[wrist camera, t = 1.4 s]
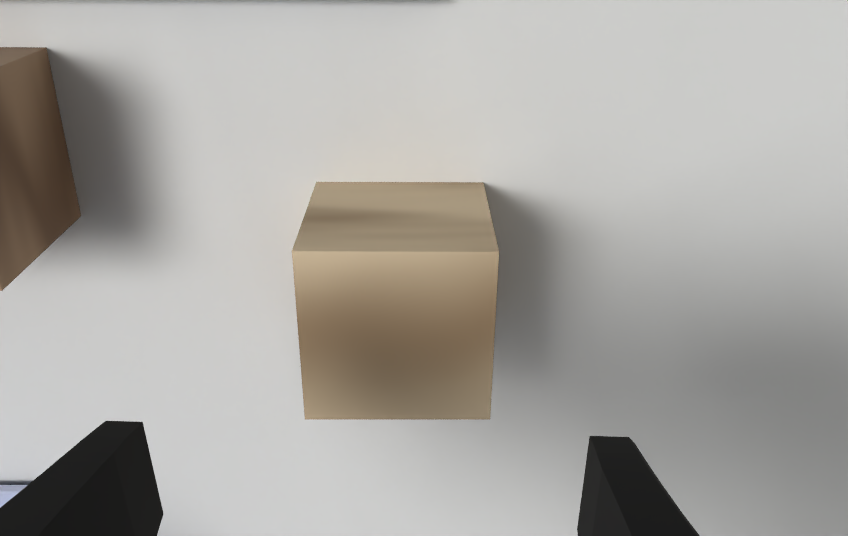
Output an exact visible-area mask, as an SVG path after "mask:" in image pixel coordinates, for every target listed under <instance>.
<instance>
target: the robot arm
mask: <svg viewBox="0 0 848 536" xmlns="http://www.w3.org/2000/svg"><path fill="white" fill-rule="evenodd" d="M162 516H163V510H162V506H161V501H160V497H159V493H158V488H157V484H156V479H155V475H154V471H153V466H152V462H151V457H150V453H149V449H148V444H147V440H146V435H145V431H144V427H143V422H124V421H105V422H104V423H103V424H101V425H100V426H99V427H97V428H96V429H95V430H94V431H92V432H91V433H90V434H89V435H88V436H86V437H85V438H84V439H83V440H81V441H80V442H79V443H78V444H77V445H75V446H74V447H73V448H72V449H71V450H70V451H68V452H67V453H66V454H65V455H64V456H62V457H61V458H60V459H59V460H58V461H56V462H55V463H54V464H53V465H52V466H50V467H49V468H48V469H47V470H46V471H45V472H43V473H42V474H41V475H40V476H38V477H37V478H36V479H35V480H34V481H32V482H31V483H30V484H29V485H0V536H157V533H158V530H159V526H160V523H161V520H162ZM577 530H578V536H699V534H698V533H697V532H696V530H695V529H694V528H693V527H692V525H691V524H690V523H689V521H688V520H687V519H686V517H685V516H684V515H683V513H682V512H681V511H680V509H679V508H678V507H677V505H676V504H675V502H674V501H673V500H672V498H671V497H670V495H669V494H668V492H667V491H666V490H665V488H664V487H663V485H662V484H661V483H660V481H659V480H658V478H657V477H656V475H655V474H654V472H653V471H652V469H651V468H650V466H649V465H648V463H647V462H646V460H645V459H644V457H643V456H642V454H641V452H640V451H639V449H638V448H637V446H636V445H635V443H634V442H633V441H632V440H631V439H630V438H629V437H605V436H590V438H589V446H588V453H587V461H586V468H585V476H584V483H583V491H582V498H581V505H580V513H579V520H578V528H577Z"/></svg>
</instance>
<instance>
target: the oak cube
mask: <svg viewBox="0 0 848 536" xmlns="http://www.w3.org/2000/svg"><path fill="white" fill-rule="evenodd" d="M292 258H293V271H294V284H295V297H296V309H297V322H298V335H299V348H300V361H301V374H302V387H303V400H304V412H305V419H490V410H491V392H492V373H493V355H494V336H495V318H496V299H497V281H498V262H499V249H498V245H497V240H496V236H495V232H494V227H493V223H492V218H491V214H490V209H489V205H488V201H487V196H486V192H485V187H484V183H460V182H316V185H315V187H314V190H313V193H312V196H311V199H310V202H309V204H308V207H307V210H306V213H305V216H304V219H303V221H302V224H301V227H300V230H299V233H298V236H297V239H296V241H295V244H294V247H293V250H292Z"/></svg>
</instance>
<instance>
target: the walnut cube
mask: <svg viewBox="0 0 848 536" xmlns="http://www.w3.org/2000/svg"><path fill="white" fill-rule="evenodd" d="M80 216H81V213H80V209H79V204H78V199H77V194H76V189H75V184H74V179H73V175H72V170H71V165H70V160H69V155H68V150H67V145H66V140H65V136H64V131H63V126H62V121H61V116H60V111H59V106H58V102H57V97H56V92H55V87H54V82H53V77H52V72H51V67H50V63H49V58H48V53H47V48H26V47H0V291H2V290H3V289H4V288H5V287H6V286H8V285H9V284H10V283H11V282H12V281H13V280H14V279H15V278H16V277H17V276H18V275H19V274H20V273H21V272H22V271H23V270H24V269H25V268H27V267H28V266H29V265H30V264H31V263H32V262H33V261H34V260H35V259H36V258H37V257H38V256H39V255H40V254H41V253H42V252H43V251H44V250H46V249H47V248H48V247H49V246H50V245H51V244H52V243H53V242H54V241H55V240H56V239H57V238H58V237H59V236H60V235H61V234H62V233H64V232H65V231H66V230H67V229H68V228H69V227H70V226H71V225H72V224H73V223H74V222H75V221H76V220H77V219H78V218H79V217H80Z"/></svg>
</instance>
